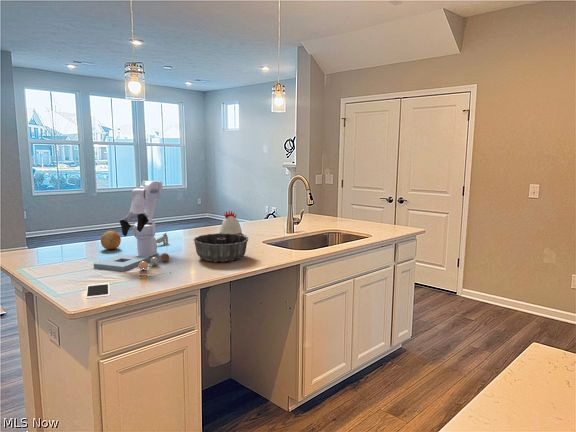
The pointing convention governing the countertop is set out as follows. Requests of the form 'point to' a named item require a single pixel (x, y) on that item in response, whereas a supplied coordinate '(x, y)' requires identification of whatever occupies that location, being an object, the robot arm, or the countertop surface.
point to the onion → (110, 240)
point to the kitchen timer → (230, 225)
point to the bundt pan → (220, 247)
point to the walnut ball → (164, 257)
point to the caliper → (163, 239)
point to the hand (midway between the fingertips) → (131, 232)
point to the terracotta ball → (143, 265)
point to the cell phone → (97, 290)
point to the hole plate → (121, 262)
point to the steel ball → (154, 261)
